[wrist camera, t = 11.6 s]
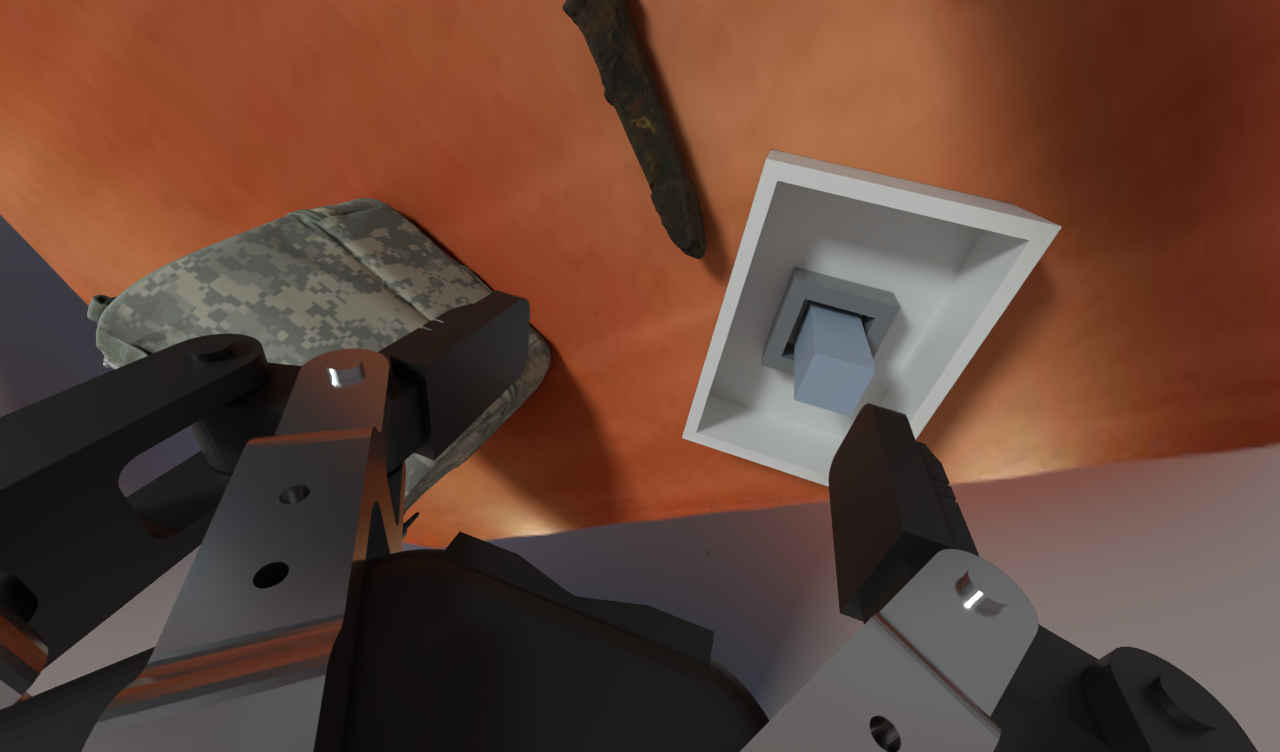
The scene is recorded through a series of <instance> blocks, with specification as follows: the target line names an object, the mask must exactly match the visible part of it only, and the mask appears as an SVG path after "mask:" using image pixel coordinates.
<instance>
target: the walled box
mask: <svg viewBox="0 0 1280 752" xmlns="http://www.w3.org/2000/svg"><path fill="white" fill-rule="evenodd" d="M1061 228H1062V227H1061V226H1059V225H1057V224H1055V223H1053V222H1050V221H1048V220H1046V219H1044V218H1041V217H1039V216H1037V215H1035V214H1033V213H1030V212H1028V211H1026V210H1024V209H1021V208H1019V207H1017V206H1015V205H1013V204H1010V203H1006V202H1001V201H997V200H993V199H988V198H984V197H980V196H975V195H971V194H966V193H962V192H958V191H953V190H949V189H944V188H940V187H936V186H931V185H927V184H922V183H918V182H914V181H909V180H905V179H900V178H896V177H892V176H887V175H883V174H878V173H874V172H870V171H865V170H861V169H856V168H852V167H848V166H843V165H839V164H834V163H830V162H826V161H821V160H817V159H812V158H808V157H804V156H799V155H795V154H790V153H786V152H782V151H777V150H773V149H771V151H770V153H769V155H768V156H767V158H766V161H765V165H764V168H763V171H762V175H761V178H760V181H759V184H758V188H757V191H756V194H755V198H754V201H753V204H752V208H751V211H750V214H749V218H748V221H747V224H746V228H745V231H744V234H743V237H742V241H741V244H740V247H739V251H738V254H737V257H736V261H735V264H734V267H733V271H732V274H731V277H730V281H729V284H728V287H727V290H726V294H725V297H724V300H723V304H722V307H721V310H720V314H719V317H718V320H717V324H716V327H715V330H714V334H713V337H712V340H711V343H710V347H709V350H708V353H707V357H706V360H705V363H704V367H703V370H702V373H701V377H700V380H699V383H698V387H697V390H696V393H695V396H694V400H693V403H692V406H691V410H690V413H689V416H688V420H687V423H686V426H685V430H684V433H683V436H682V438H684V439H687V440H690V441H693V442H696V443H699V444H702V445H705V446H708V447H711V448H714V449H717V450H720V451H723V452H726V453H729V454H732V455H735V456H738V457H741V458H744V459H747V460H750V461H753V462H756V463H759V464H762V465H765V466H768V467H771V468H774V469H777V470H780V471H783V472H786V473H789V474H792V475H795V476H798V477H801V478H804V479H807V480H810V481H813V482H816V483H819V484H822V485H825V486H828V487H829V481H828V479H829V471H830V467H831V463H832V461H833V458H834V456H835V454H836V452H837V450H838V448H839V447H840V445H841V443H842V441H843V440H844V438H845V436H846V434H847V433H848V431H849V429H850V427H851V426H852V424H853V422H854V420H855V419H856V417H857V415H858V413H859V412H860V410H861V409H862V407H863V406H864V405H866V404H867V403H870V404H874V405H877V406H880V407H884V408H887V409H890V410H893V411H897V412H900V413H903V414H905V415H906V416H907V418H908V421H909V423H910V426H911V429H912V432H913V435H914V437H915V440H916V439H917V437H918V436H919V434H920V433H921V431H922V430H923V428H924V427H925V426H926V424H927V423H928V421H929V420H930V418H931V417H932V415H933V414H934V412H935V411H936V409H937V408H938V407H939V405H940V404H941V402H942V401H943V399H944V398H945V396H946V395H947V393H948V392H949V391H950V389H951V388H952V386H953V385H954V383H955V382H956V380H957V379H958V377H959V376H960V375H961V373H962V372H963V370H964V369H965V367H966V366H967V364H968V363H969V361H970V360H971V359H972V357H973V356H974V354H975V353H976V351H977V350H978V348H979V347H980V345H981V344H982V343H983V341H984V340H985V338H986V337H987V335H988V334H989V332H990V331H991V329H992V328H993V327H994V325H995V324H996V322H997V321H998V319H999V318H1000V316H1001V315H1002V313H1003V312H1004V311H1005V309H1006V308H1007V306H1008V305H1009V303H1010V302H1011V300H1012V299H1013V297H1014V296H1015V295H1016V293H1017V292H1018V290H1019V289H1020V287H1021V286H1022V284H1023V283H1024V281H1025V280H1026V279H1027V277H1028V276H1029V274H1030V273H1031V271H1032V270H1033V268H1034V267H1035V265H1036V264H1037V263H1038V261H1039V260H1040V258H1041V257H1042V255H1043V254H1044V252H1045V251H1046V249H1047V248H1048V247H1049V245H1050V244H1051V242H1052V241H1053V239H1054V238H1055V236H1056V235H1057V233H1058V232H1059V230H1060V229H1061ZM808 300H811V301H815V302H819V303H822V304H826V305H830V306H833V307H837V308H840V309H844V310H848V311H851V312H855V313H859V315H860V319H861V322H862V325H863V328H864V332H865V335H866V338H867V341H868V345H869V348H870V351H871V354H872V358H873V361H874V364H875V367H876V371H875V373H874V375H873V377H872V379H871V380H870V382H869V384H868V386H867V388H866V390H865V392H864V393H863V395H862V397H861V399H860V401H859V403H858V405H857V406H856V408H855V410H854V412H853V414H852V416H851V417H849V416H846V415H843V414H839V413H836V412H833V411H829V410H826V409H822V408H819V407H816V406H812V405H809V404H806V403H802V402H799V401H795V400H794V335H795V333H796V330H797V328H798V325H799V323H800V320H801V318H802V315H803V313H804V310H805V308H806V305H807V303H808Z"/></svg>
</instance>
